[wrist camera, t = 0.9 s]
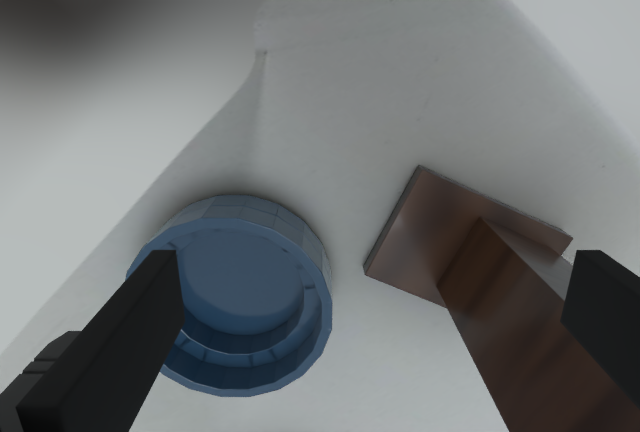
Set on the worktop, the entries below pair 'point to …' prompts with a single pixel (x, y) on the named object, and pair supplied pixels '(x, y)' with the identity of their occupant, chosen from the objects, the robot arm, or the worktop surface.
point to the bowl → (245, 295)
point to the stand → (501, 303)
